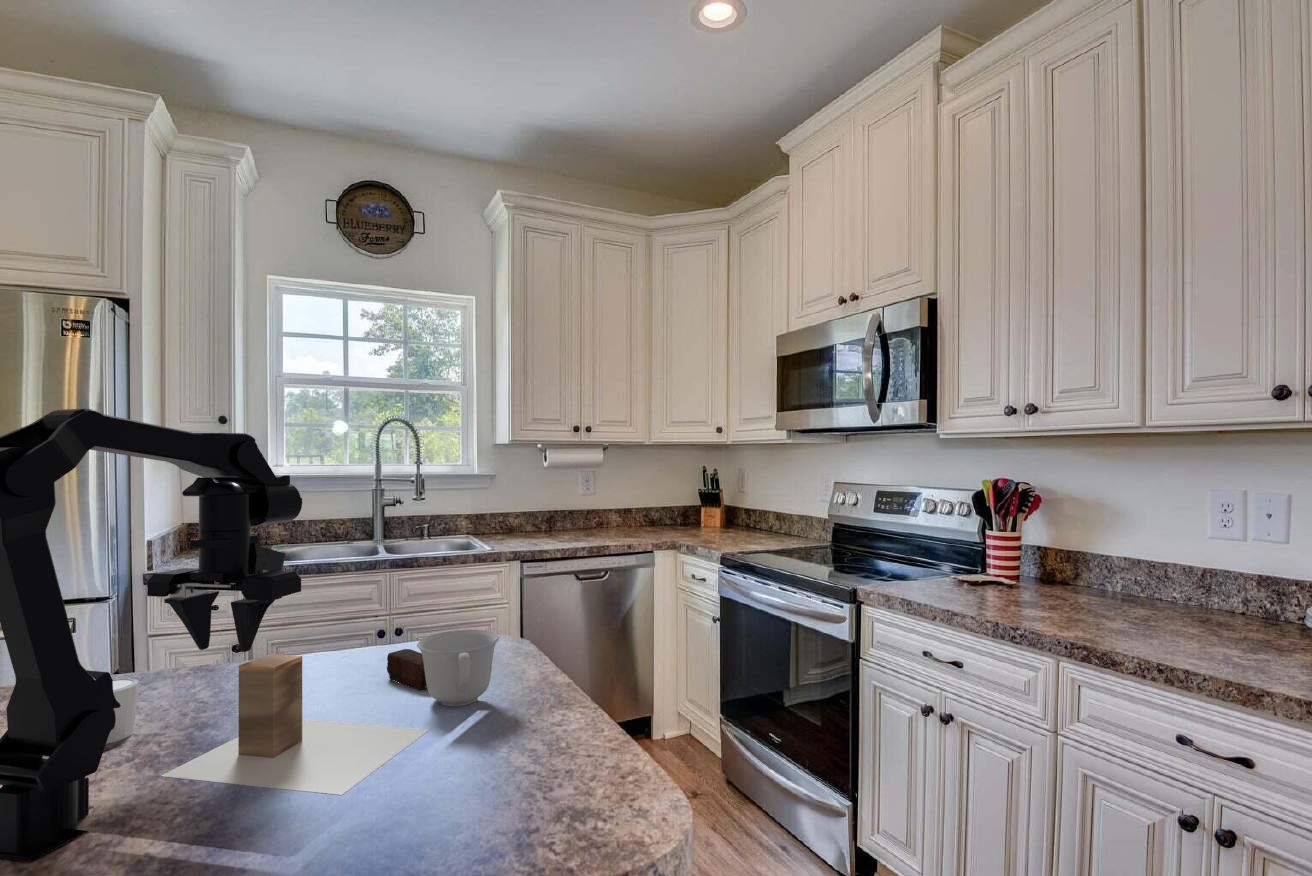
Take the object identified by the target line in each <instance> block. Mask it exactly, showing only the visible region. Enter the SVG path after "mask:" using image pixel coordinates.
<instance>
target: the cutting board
mask: <svg viewBox="0 0 1312 876" xmlns="http://www.w3.org/2000/svg"><path fill="white" fill-rule="evenodd" d="M429 731H431V728H430V729H428V728H418V727H417V728H416V727H406V726H405V727H404V726H395V725H393V726H391V725H377V724H365V723H353V722H342V721H341V722H340V721H332V720H331V721H330V720H329V721H328V720H316V719H314V720H313V719H303V718H302V742H300V743H298V744H297V745H295V746H293V747H291V748H290V749H288V750H286V751H284V752H283V753H281V754H279V755H277V756H276V757H274V758H267V757H256V756H246V755H238V747H239V736H237V737H235V738H233V739H231V740H229V741H227V742H225V743H223V744H221V745H219V746H217V747H215V748H213V749H211V750H209V751H208V752H206V753H202V754H201V755H199V756H197V757H195V758H193V759H192V760H189V761H188V762H186V763H183V764H182V765H180V766H178V767H175V768H173V769H171V770H169V771H167V772H166V773H163V774H162V775H160V777H163V778H172V779H183V780H192V781H201V782H212V783H220V784H231V785H240V786H249V787H258V788H259V787H260V788H267V789H268V788H269V789H278V790H286V791H296V792H306V793H315V794H316V793H318V794H324V795H335V796H343V795H345V794H346V793H347V792H349V791H350V790H351V789H352V788H354V787H355V786H356V785H358V784H359V783H361V782H362V781H363V780H365V779H366V778H367V777H368V776H370V775H371V774H373V773H374V772H375V771H377V770H378V769H379V768H380V767H382V766H384V765H386V763H387V762H389V761H390V760H392V759H393V758H394V757H396V756H397V755H398V754H399V753H401V752H402V751H404V750H405V749H406V748H408V747H409V746H411V745H412V744H413V743H414V742H416V741H417V740H418V739H420V738H422V736H424V735H426V734H427V733H428V732H429Z"/></svg>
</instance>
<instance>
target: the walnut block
mask: <svg viewBox="0 0 1312 876" xmlns="http://www.w3.org/2000/svg"><path fill="white" fill-rule="evenodd" d="M302 719H303V655H292V654H274V653H273V654H272V653H268V654H266V655H263V656H259V657H258V658H255V659H252V660H250V661H247V662H245V663H243V664H239V665H238V737H239V747H238V755H246V756H256V757H267V758H274V757H276V756H277V755H279V754H281V753H283V752H284V751H286V750H288V749H290V748H291V747H293V746H295V745H297V744H298V743H300V742H302Z"/></svg>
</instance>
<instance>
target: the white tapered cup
mask: <svg viewBox="0 0 1312 876" xmlns="http://www.w3.org/2000/svg"><path fill="white" fill-rule="evenodd" d="M112 680H113V693H114V696H115V698H116V700H117V701H118V702H119V703H120V705H121V706H120V707H119V708H114V710H115V715H116V723H115V727H114V729H113V730H111V732H110V734H109V736H108V739H107V742H106V745H108V744H113V743H117V742H119V741H122V740H124V739H127V738H128V737H130V736H132V735H133V733H134V731H135V730H134V728H135V721H136V712H137V703H138V694H139V687H140V686H139V685H140V681H139V679H136V678H116V679H112Z"/></svg>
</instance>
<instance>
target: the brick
mask: <svg viewBox="0 0 1312 876" xmlns="http://www.w3.org/2000/svg"><path fill="white" fill-rule="evenodd" d="M386 659H387V660H386V661H387V662H386V664H387V666H386V671H387V674H388V677H389V679H391V680H390V681H392V680H395V681H397V682H399V683H401V684H400V685H402V684H403V686H406V687H408V686H409V688H411V689H413V690H417V691H420V692H424V691H427V690H428V688H427V684H426V678H425V670H424V662H423V657H422V653H421V652H419V651H416V650H413V649H410V648H404V649H403V648H402V649H399V650H395V651H391V652H388V655H387V658H386ZM395 681H394V682H395ZM397 682H396V683H397ZM399 683H398V684H399Z"/></svg>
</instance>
